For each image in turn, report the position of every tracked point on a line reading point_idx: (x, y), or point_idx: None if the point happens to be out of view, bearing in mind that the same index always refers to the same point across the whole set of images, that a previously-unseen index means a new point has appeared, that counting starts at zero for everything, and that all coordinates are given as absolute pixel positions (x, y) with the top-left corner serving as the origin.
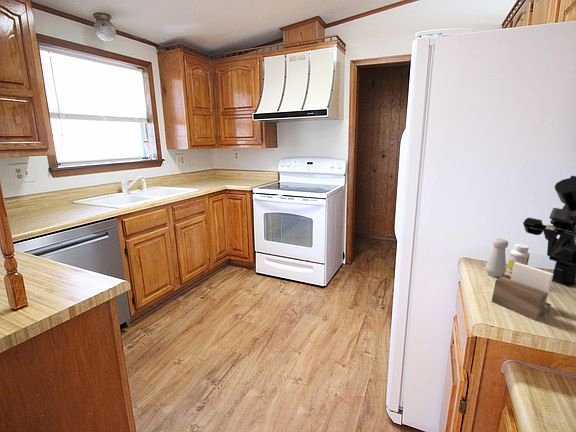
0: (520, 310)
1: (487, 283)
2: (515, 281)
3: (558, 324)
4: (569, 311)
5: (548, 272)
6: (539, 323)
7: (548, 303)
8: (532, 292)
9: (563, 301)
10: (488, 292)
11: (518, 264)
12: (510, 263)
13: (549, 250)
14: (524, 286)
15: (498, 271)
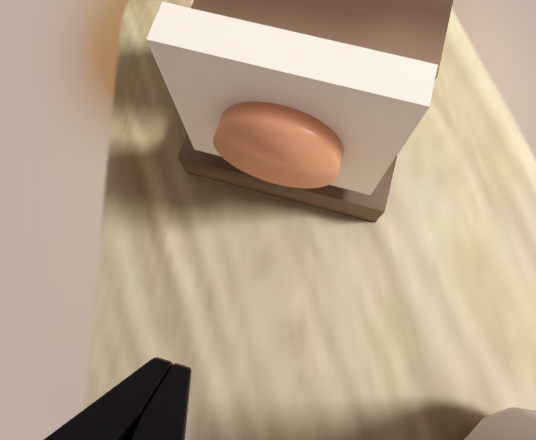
0: None
1: (487, 289)
2: None
3: (156, 77)
4: (108, 228)
5: (180, 37)
6: None
7: (188, 159)
8: None
9: (124, 331)
10: (445, 176)
11: (399, 58)
12: None
13: (159, 408)
14: (302, 18)
15: (497, 418)
